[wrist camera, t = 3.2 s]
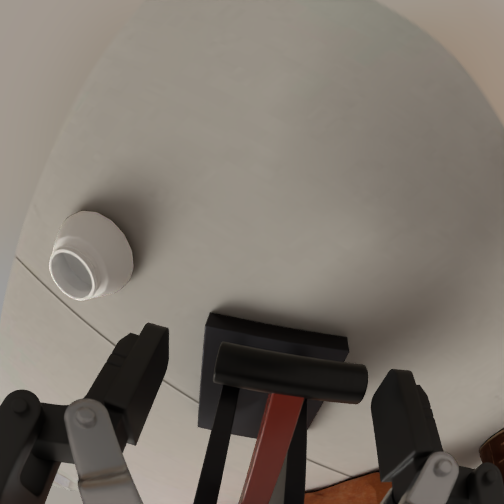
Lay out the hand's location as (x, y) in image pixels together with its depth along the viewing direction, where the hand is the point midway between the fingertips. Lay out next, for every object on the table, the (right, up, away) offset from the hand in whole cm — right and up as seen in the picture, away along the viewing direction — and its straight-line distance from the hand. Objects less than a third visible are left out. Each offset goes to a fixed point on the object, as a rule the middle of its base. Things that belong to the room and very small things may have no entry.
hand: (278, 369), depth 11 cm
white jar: (-10, +4, +7) cm, 12 cm away
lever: (-1, -5, +1) cm, 5 cm away
